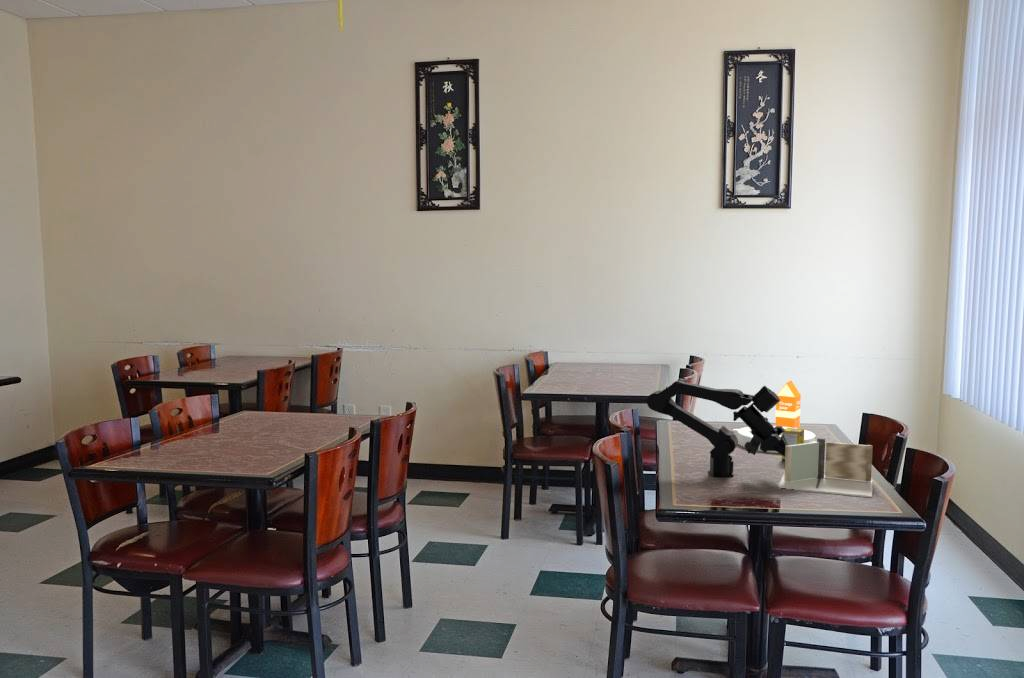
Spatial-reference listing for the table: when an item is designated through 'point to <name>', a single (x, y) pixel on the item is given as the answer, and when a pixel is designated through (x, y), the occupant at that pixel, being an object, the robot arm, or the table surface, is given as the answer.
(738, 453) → the table surface
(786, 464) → the pale green flat panel
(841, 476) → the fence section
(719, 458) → the robot arm
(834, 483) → the board
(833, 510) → the table surface
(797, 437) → the supplement box
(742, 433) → the ring with crossbar
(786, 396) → the orange juice
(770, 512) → the table surface
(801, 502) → the table surface
